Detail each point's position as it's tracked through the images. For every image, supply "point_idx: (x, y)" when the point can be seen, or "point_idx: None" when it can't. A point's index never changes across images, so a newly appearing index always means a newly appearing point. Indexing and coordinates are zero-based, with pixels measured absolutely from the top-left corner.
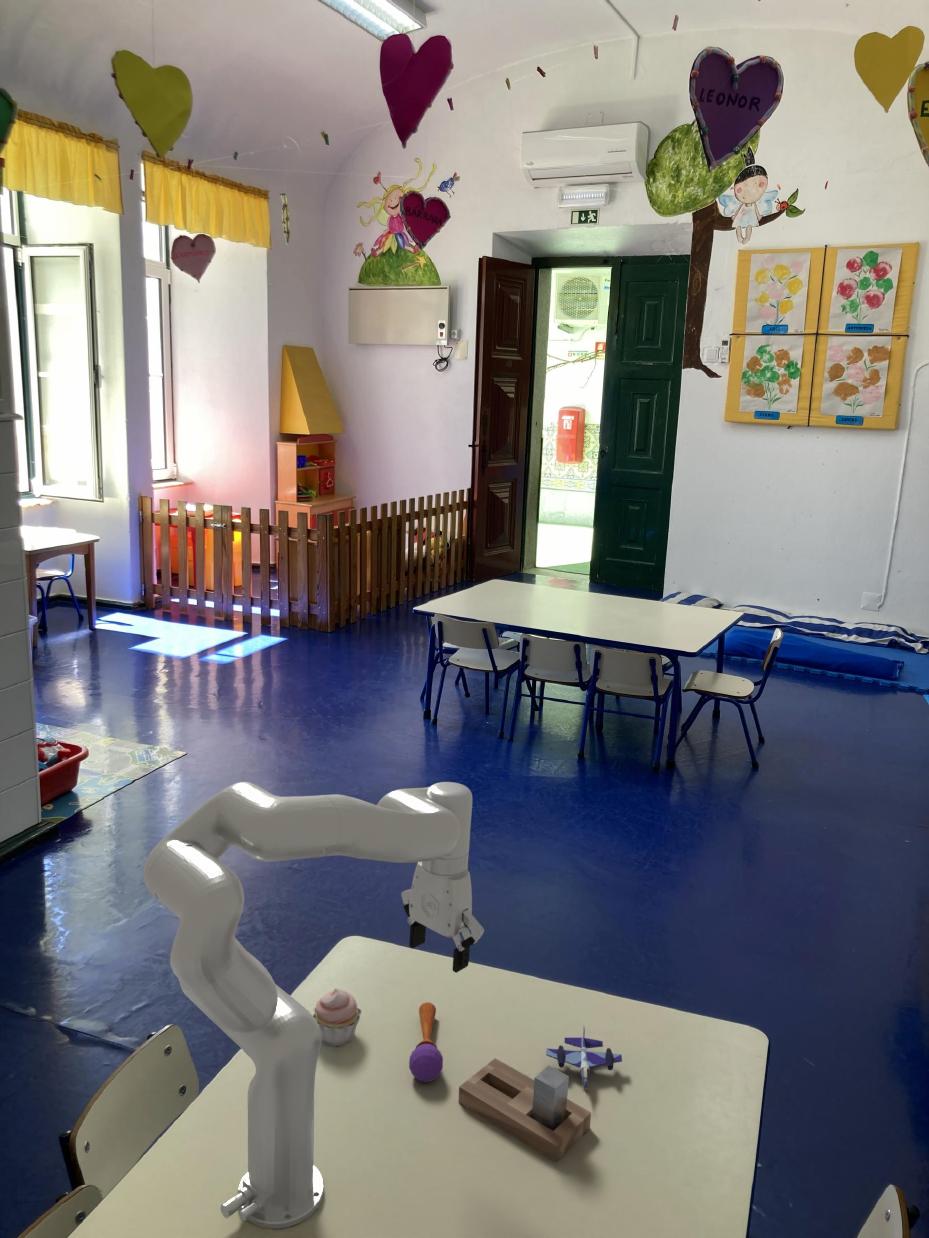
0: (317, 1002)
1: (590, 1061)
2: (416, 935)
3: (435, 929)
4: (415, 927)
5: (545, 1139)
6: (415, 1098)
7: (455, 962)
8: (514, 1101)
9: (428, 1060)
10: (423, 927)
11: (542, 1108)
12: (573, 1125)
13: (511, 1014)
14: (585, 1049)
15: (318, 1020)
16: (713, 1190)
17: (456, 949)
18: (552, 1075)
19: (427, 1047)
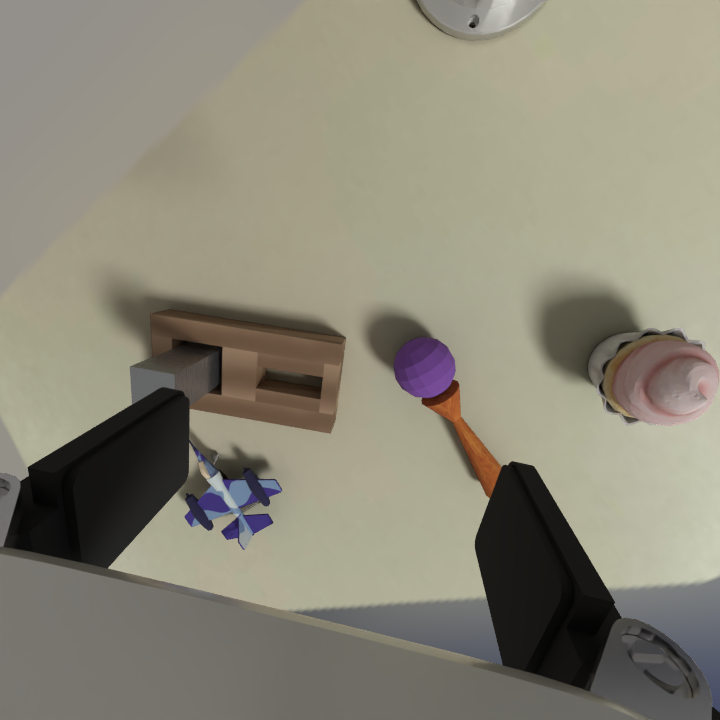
0: (718, 370)
1: (215, 495)
2: (519, 542)
3: (97, 609)
4: (554, 600)
5: (171, 316)
6: (408, 306)
7: (119, 412)
8: (251, 362)
9: (410, 357)
10: (507, 631)
11: (185, 354)
12: None
13: (381, 540)
14: (233, 513)
15: (681, 339)
16: (8, 375)
17: (42, 479)
18: None
19: (425, 379)
